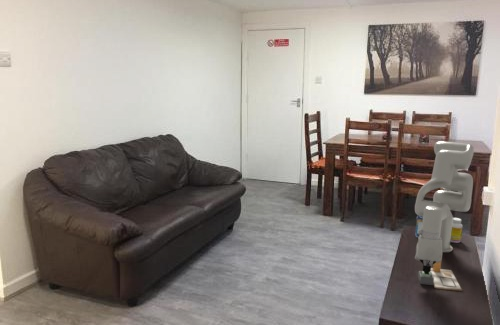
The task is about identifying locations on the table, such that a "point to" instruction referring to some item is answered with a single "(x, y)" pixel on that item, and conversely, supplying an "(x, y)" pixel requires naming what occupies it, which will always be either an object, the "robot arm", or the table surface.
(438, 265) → the marker
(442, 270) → the sheet
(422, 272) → the button
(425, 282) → the button housing
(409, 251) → the table surface
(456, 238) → the supplement bottle
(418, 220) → the beverage bottle
